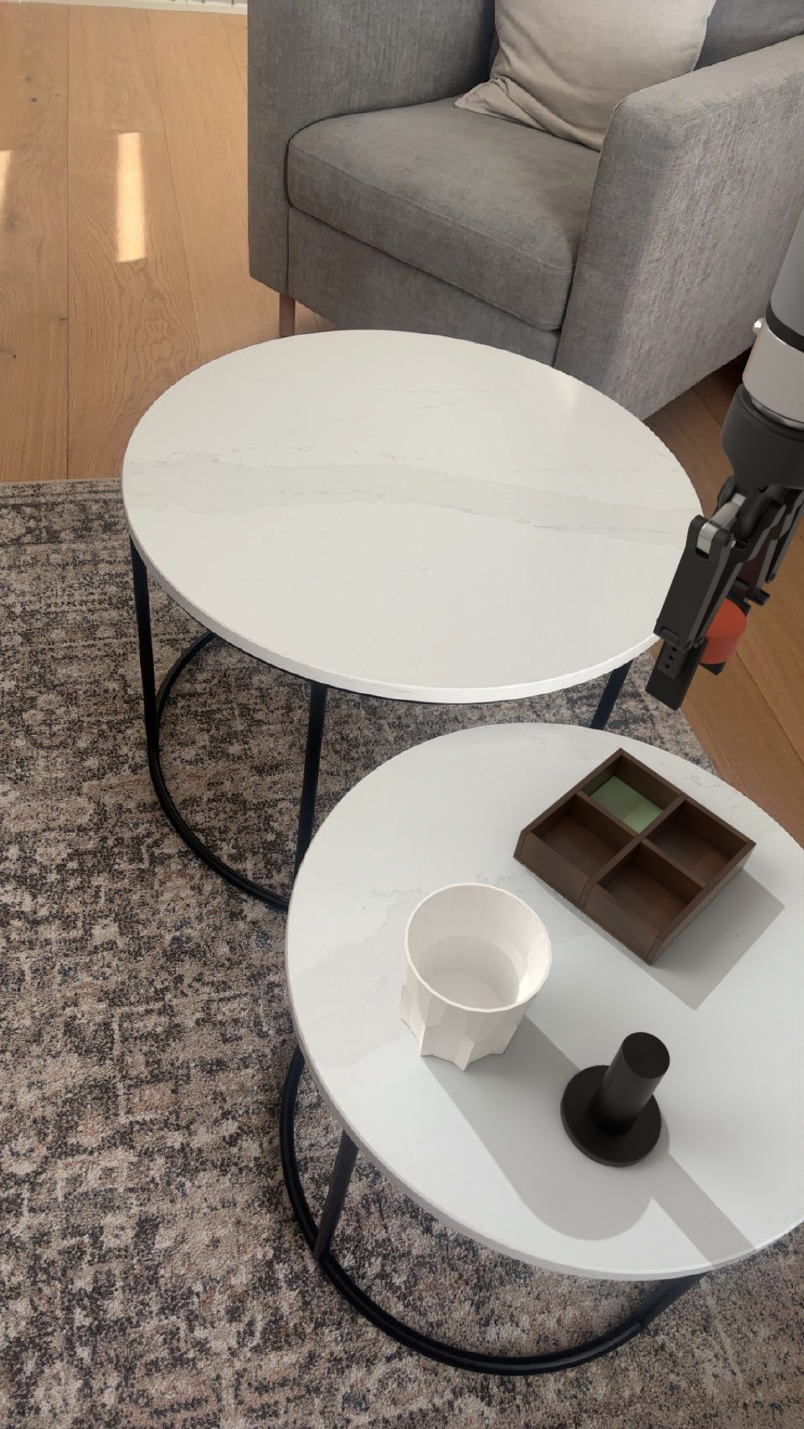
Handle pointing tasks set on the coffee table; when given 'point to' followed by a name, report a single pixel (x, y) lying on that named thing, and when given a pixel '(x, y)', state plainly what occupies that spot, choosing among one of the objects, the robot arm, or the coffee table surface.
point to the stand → (617, 1103)
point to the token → (724, 633)
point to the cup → (471, 970)
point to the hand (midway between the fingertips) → (684, 680)
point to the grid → (633, 853)
